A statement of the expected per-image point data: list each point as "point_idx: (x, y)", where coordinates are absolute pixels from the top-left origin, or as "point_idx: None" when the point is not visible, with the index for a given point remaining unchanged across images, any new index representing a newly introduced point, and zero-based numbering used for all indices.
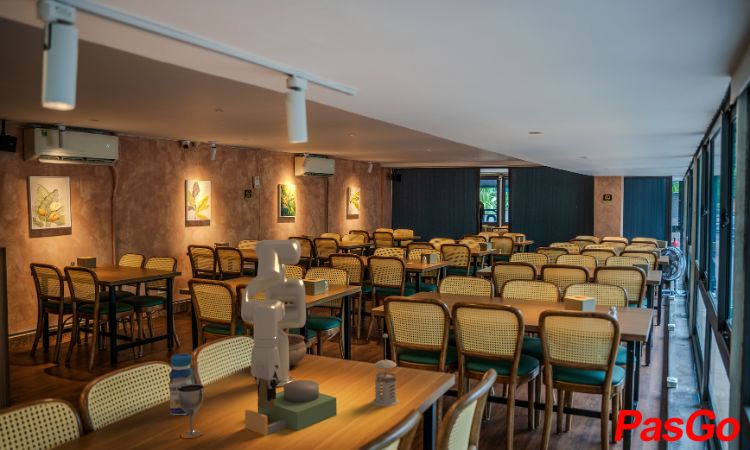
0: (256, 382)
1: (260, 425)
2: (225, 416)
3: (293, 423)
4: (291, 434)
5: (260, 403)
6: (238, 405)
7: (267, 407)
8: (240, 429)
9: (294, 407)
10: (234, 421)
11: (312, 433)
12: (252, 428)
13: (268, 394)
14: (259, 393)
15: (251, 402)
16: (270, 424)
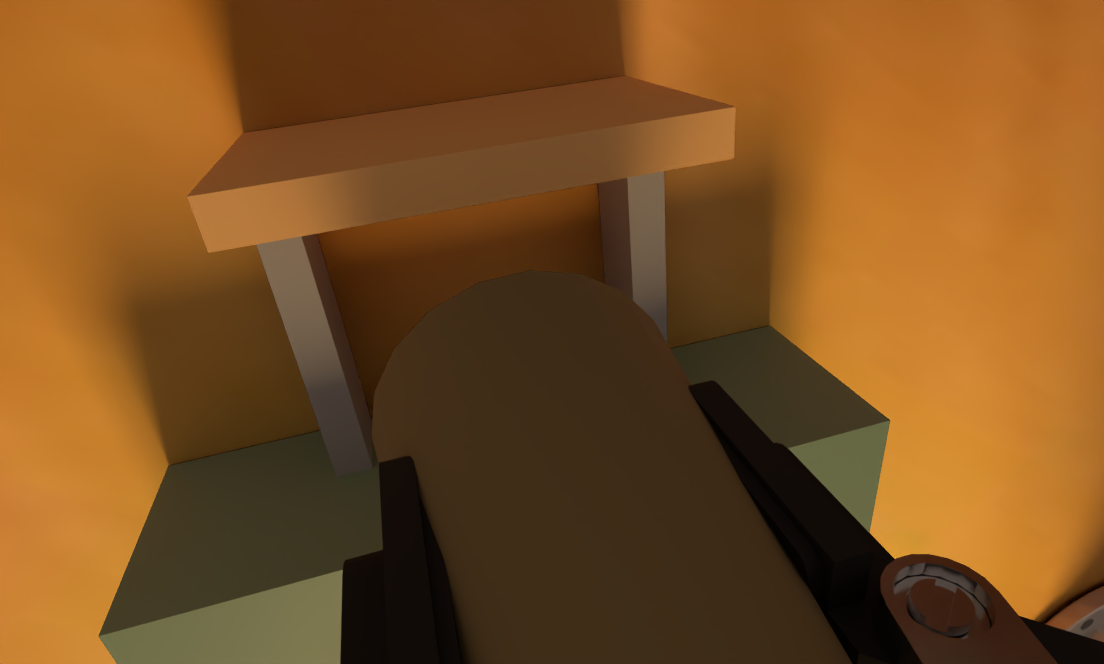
0: (996, 606)
1: (334, 140)
2: (1024, 85)
3: (219, 494)
4: (102, 385)
5: (508, 317)
6: (1076, 307)
7: (385, 370)
8: (634, 4)
9: (320, 654)
10: (862, 85)
11: (5, 552)
12: (500, 99)
13: (384, 568)
14: (639, 433)
15: (1024, 410)
16: (306, 271)
